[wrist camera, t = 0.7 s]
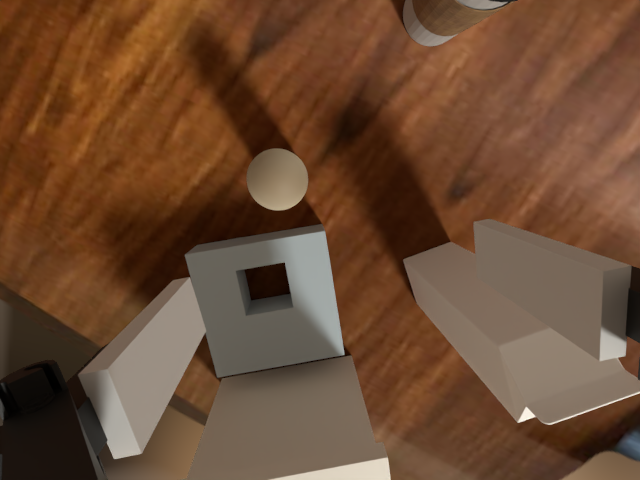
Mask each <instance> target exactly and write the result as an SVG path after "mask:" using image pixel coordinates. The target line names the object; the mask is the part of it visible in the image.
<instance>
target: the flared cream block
mask: <svg viewBox="0 0 640 480" xmlns="http://www.w3.org/2000/svg"><path fill="white" fill-rule="evenodd" d="M181 480H391V478H390V471H389V463H388V457H387V453H386V450H385V447H384V443H383V442H380V443H375V439H374V435H373V432H372V428H371V424H370V421H369V417H368V414H367V410H366V406H365V403H364V399H363V395H362V392H361V388H360V385H359V381H358V377H357V374H356V370H355V366H354V363H353V359H352V356H351V355H350V356H344V357H339V358H333V359H328V360H322V361H316V362H311V363H305V364H300V365H294V366H288V367H283V368H277V369H272V370H266V371H260V372H255V373H249V374H244V375H238V376H233V377H227V378H222V380H221V383H220V386H219V389H218V392H217V394H216V397H215V400H214V403H213V406H212V408H211V411H210V414H209V417H208V420H207V422H206V425H205V428H204V431H203V434H202V436H201V439H200V442H199V445H198V448H197V450H196V453H195V456H194V459H193V462H192V464H191V467H190V470H189V473H188V476H187V479H181Z"/></svg>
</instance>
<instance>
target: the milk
mask: <svg viewBox="0 0 640 480" xmlns="http://www.w3.org/2000/svg"><path fill="white" fill-rule="evenodd" d="M403 262H404V265H405V268H406V272H407V275H408V278H409V281H410V284H411V287H412V290H413V294H414V297H415V300H416V303H417V304H418V306H419V307H420V308H421V309H422V310H423V311H424V313H425V314H426V315H427V316H428V317H429V319H430V320H431V321H432V322H433V323H434V324H435V326H436V327H437V328H438V329H439V330H440V332H441V333H442V334H443V335H444V336H445V337H446V339H447V340H448V341H449V342H450V343H451V345H452V346H453V347H454V348H455V349H456V350H457V352H458V353H459V354H460V355H461V356H462V358H463V359H464V360H465V361H466V362H467V363H468V365H469V366H470V367H471V368H472V369H473V371H474V372H475V373H476V374H477V375H478V376H479V378H480V379H481V380H482V381H483V382H484V384H485V385H486V386H487V387H488V388H489V389H490V391H491V392H492V393H493V394H494V395H495V397H496V398H497V399H498V400H499V401H500V402H501V404H502V405H503V406H504V407H505V408H506V410H507V411H508V412H509V413H510V414H511V415H512V417H513V418H514V419H515V420H516V421H517V422H518V423H519V422H522V421H525V420H528V419H530V418H533V417H537V418H538V419H539V420H540V421H541V422H542V423H545V424H549V425H551V424H554V423H557V422H560V421H563V420H565V419H568V418H571V417H574V416H577V415H580V414H582V413H585V412H588V411H591V410H594V409H596V408H599V407H602V406H605V405H608V404H610V403H613V402H616V401H619V400H622V399H625V398H627V397H630V396H633V395H636V394H639V393H640V380H638V378H637V377H635V376H634V375H632V374H630V373H629V372H627V371H626V370H625V369H624V368H623V366H622V365H621V363H620V361H619V360H618V358H613V359H608V360H603V361H598V360H597V359H596V358H594V357H593V356H591V355H590V354H588V353H587V352H585V351H584V350H582V349H581V348H579V347H578V346H577V345H575V344H574V343H572V342H571V341H569V340H568V339H566V338H565V337H563V336H562V335H560V334H559V333H557V332H556V331H555V330H553V329H552V328H550V327H549V326H547V325H546V324H544V323H543V322H541V321H540V320H538V319H537V318H535V317H534V316H533V315H531V314H530V313H528V312H527V311H525V310H524V309H522V308H521V307H519V306H518V305H516V304H515V303H514V302H512V301H511V300H509V299H508V298H506V297H505V296H503V295H502V294H500V293H499V292H497V291H496V290H494V289H493V288H492V287H490V286H489V285H487V284H486V283H484V282H483V281H481V280H480V279H478V278H477V269H476V254H474V253H472V252H470V251H468V250H466V249H464V248H462V247H460V246H458V245H456V244H454V243H452V242H449V243H446V244H443V245H440V246H438V247H435V248H432V249H430V250H427V251H424V252H422V253H419V254H416V255H413V256H411V257H408V258H405V259H403Z"/></svg>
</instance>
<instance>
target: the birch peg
mask: <svg viewBox="0 0 640 480" xmlns="http://www.w3.org/2000/svg"><path fill="white" fill-rule="evenodd" d="M247 186H248V189H249V192H250V194H251V196H252V197H253V198H254V200H255V201H256V202H257V203H259V204H260V205H261V206H263V207H265V208H267V209H271V210H286V209H289V208H291V207H293V206H295V205H296V204H297V203H298V202H300V200H301V199H302V198H303V196H304V195H305V193H306V190H307V186H308V174H307V170H306V168H305V166H304V164H303V162H302V161H301V160H300V159H299V157H297V156H296V155H295V154H293V153H292V152H290V151H288V150H285V149H278V148H275V149H269V150H266V151H263V152H262V153H260V154H259V155H257V156H256V157H255V158H254V159H253V161H252V162H251V164H250V166H249V168H248V171H247Z"/></svg>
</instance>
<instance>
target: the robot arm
mask: <svg viewBox="0 0 640 480" xmlns="http://www.w3.org/2000/svg"><path fill="white" fill-rule="evenodd" d="M474 238H475V253H476V269H477V278H478V279H480V280H481V281H483V282H484V283H486V284H487V285H489V286H490V287H492V288H493V289H494V290H496V291H497V292H499V293H500V294H502V295H503V296H505V297H506V298H508V299H509V300H511V301H512V302H514V303H515V304H516V305H518V306H519V307H521V308H522V309H524V310H525V311H527V312H528V313H530V314H531V315H533V316H534V317H535V318H537V319H538V320H540V321H541V322H543V323H544V324H546V325H547V326H549V327H550V328H552V329H553V330H555V331H556V332H557V333H559V334H560V335H562V336H563V337H565V338H566V339H568V340H569V341H571V342H572V343H574V344H575V345H577V346H578V347H579V348H581V349H582V350H584V351H585V352H587V353H588V354H590V355H591V356H593V357H594V358H596V359H597V360H598V361H603V360H608V359H613V358H618V357H623V356H626V342H627V336H628V337H630V338H632V339H633V340H635V341H637V342H639V343H640V269H639V268H636V267H633V266H631V265H628V264H625V263H622V262H619V261H616V260H613V259H610V258H607V257H604V256H601V255H598V254H595V253H592V252H589V251H586V250H583V249H580V248H576V247H573V246H570V245H567V244H564V243H561V242H558V241H555V240H552V239H549V238H546V237H543V236H540V235H537V234H534V233H531V232H528V231H525V230H522V229H519V228H516V227H513V226H510V225H507V224H504V223H501V222H498V221H495V220H492V219H487V220H481V221H476V222H474ZM205 332H206V328H205V325H204V322H203V319H202V315H201V312H200V309H199V305H198V302H197V299H196V295H195V292H194V289H193V286H192V282H191V279H190V277H187V278H182V279H177V280H173V281H172V282H171V283H170V284H169V285H168V286H167V287H166V288H165V289H164V290H163V291H162V292H161V293H160V294H159V295H158V296H157V297H156V298H155V299H154V300H153V301H152V302H151V303H150V304H149V305H148V306H147V307H146V308H145V309H144V310H143V311H142V312H141V313H140V314H139V315H138V316H137V317H136V318H135V319H134V320H133V321H132V322H131V323H129V324H128V325H127V326H126V327H125V328H124V329H123V330H122V331H121V332H120V333H119V334H118V335H117V336H116V337H115V338H114V339H113V340H112V341H111V342H110V343H108V344H107V345H105V346H104V347H102V348H101V349H100V350H99V351H98V352H97V353H96V354H95V355H94V356H93V357H92V359H90V360H89V361H88V362H87V363H86V364H85V365H84V367H82V368H81V369H80V370H79V371H78V372H77V373H76V374H75V375H74V376H73V377H72V378H70V379H69V380H68V381H67V382H65V380H64V378H63V375H62V373H61V371H60V369H59V367H58V364H57V362H55V361H54V360H45V361H41V362H38V363H34V364H31V365H29V366H26V367H23V368H21V369H19V370H17V371H15V372H13V373H11V374H9V375H8V376H6V377H5V378H3V379H1V380H0V415H1V417H2V419H3V426H0V480H108V479H107V476H106V473H105V470H104V468H103V465H102V463H101V460H100V458H99V456H98V454H99V453H100V451H101V450H102V448H103V447H104V445H105V444H106V442H107V443H108V446H109V448H110V451H111V453H112V455H113V457H114V459H117V458H122V457H127V456H132V455H137V454H141V453H142V452H143V450H144V448H145V446H146V444H147V442H148V440H149V439H150V437H151V435H152V433H153V431H154V429H155V427H156V425H157V423H158V421H159V420H160V417H161V416H162V414H163V412H164V410H165V408H166V406H167V404H168V402H169V401H170V399H171V397H172V395H173V393H174V391H175V389H176V387H177V385H178V383H179V382H180V380H181V378H182V376H183V374H184V372H185V370H186V368H187V366H188V364H189V363H190V361H191V359H192V357H193V355H194V353H195V351H196V349H197V347H198V345H199V344H200V342H201V340H202V338H203V336H204V334H205ZM638 380H640V359H639V372H638Z"/></svg>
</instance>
